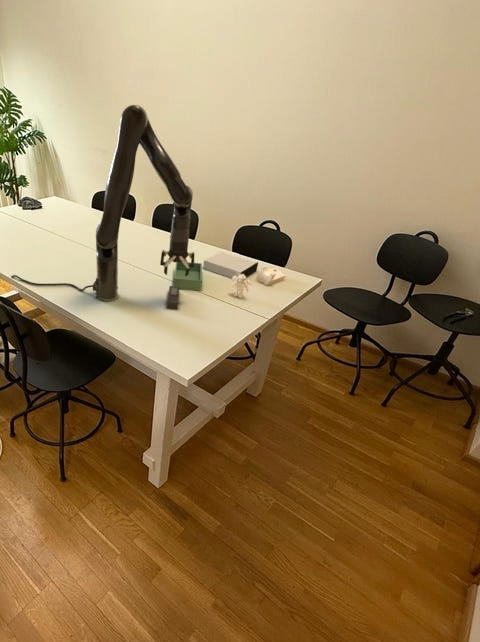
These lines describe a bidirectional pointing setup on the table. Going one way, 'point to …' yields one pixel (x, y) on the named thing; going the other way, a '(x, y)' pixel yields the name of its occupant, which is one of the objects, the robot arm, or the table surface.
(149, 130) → the robot arm
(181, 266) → the bin
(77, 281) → the table surface
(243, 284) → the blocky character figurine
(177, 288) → the block
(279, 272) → the cream lumpy rounded piece
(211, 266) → the disc drive
